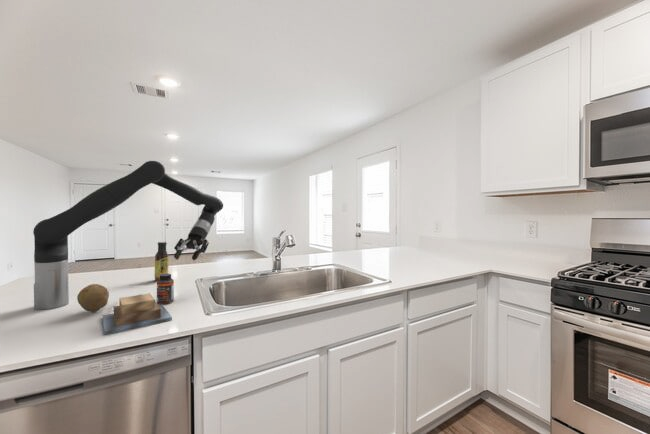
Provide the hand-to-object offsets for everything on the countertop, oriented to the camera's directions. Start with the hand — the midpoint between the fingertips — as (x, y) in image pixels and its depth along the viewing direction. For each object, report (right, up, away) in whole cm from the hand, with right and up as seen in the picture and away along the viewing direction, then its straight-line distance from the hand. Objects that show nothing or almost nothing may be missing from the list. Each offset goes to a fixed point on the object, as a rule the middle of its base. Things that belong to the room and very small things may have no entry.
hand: (184, 258), depth 124 cm
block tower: (-2, -16, -28) cm, 33 cm away
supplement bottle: (-2, -16, -11) cm, 20 cm away
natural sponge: (-22, -16, -22) cm, 35 cm away
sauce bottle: (-24, -15, +23) cm, 36 cm away
